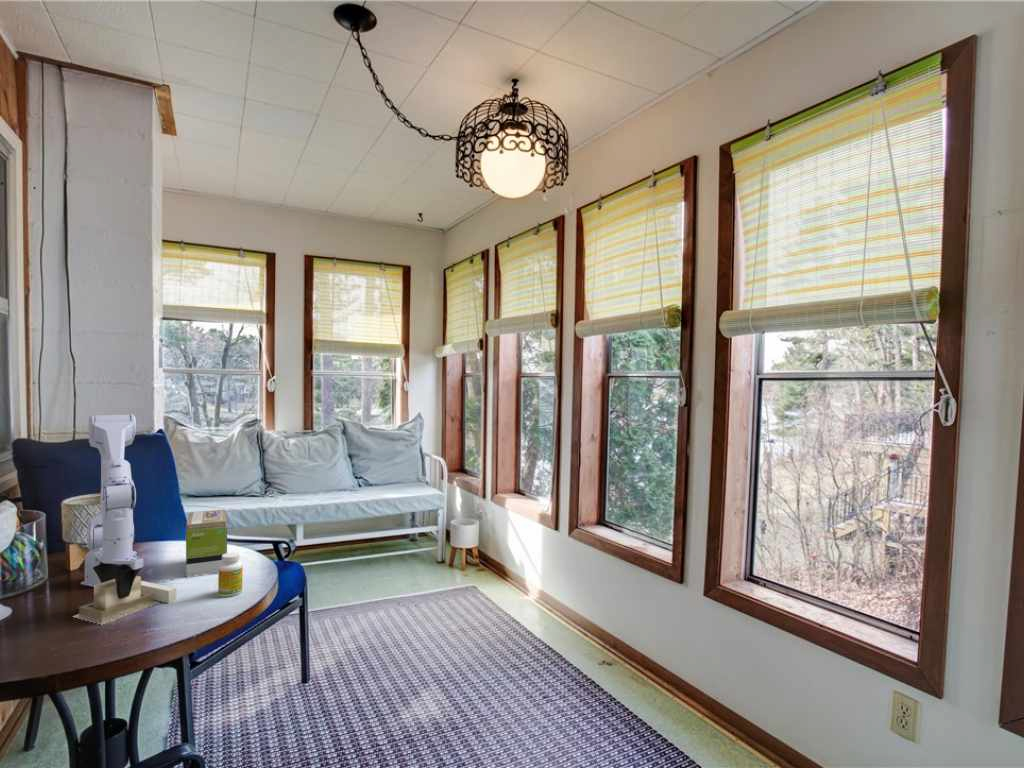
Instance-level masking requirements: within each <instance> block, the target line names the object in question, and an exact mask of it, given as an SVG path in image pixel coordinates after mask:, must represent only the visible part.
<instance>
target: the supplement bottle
mask: <svg viewBox="0 0 1024 768" xmlns="http://www.w3.org/2000/svg"><path fill="white" fill-rule="evenodd" d="M240 557H241V556H240V553H239V552H227V553H226V554H223V555H222V562H223V563H222V564H220V566H219V573H218V578H217V579H218V581H217V582H218V583H217V585H218V588H217V589H218V591H217V592H218V593H217V594H218V596H219V597H224V598H230V597H235V596H238V595H240V594H241V593H242V592H243V569H244V568H243V567H244V566H243V563H242V562H241V561H240Z"/></svg>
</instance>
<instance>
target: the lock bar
mask: <svg viewBox="0 0 1024 768" xmlns="http://www.w3.org/2000/svg"><path fill="white" fill-rule="evenodd" d="M141 581H142V576H139V575H136V577H135V579H134V582H133V585H132V588H131V591H130V595H129V596H128V597H125V598H122V599H119V598H118V595H117V585H116V581H115V579H113V580H109V581H106V582H103V583H100V584H97V585H94V587H93V602H94V608H98V609H102V610H106V609H108V608H111V607H114V606H117V605H120V604H122V603H125V602H128V601H131V600H133V599H136V598H139V597H141Z"/></svg>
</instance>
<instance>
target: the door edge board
mask: <svg viewBox="0 0 1024 768" xmlns="http://www.w3.org/2000/svg"><path fill="white" fill-rule="evenodd" d="M141 592H145V593H149V594H153V601H156V600H157V601H156V602H160V601H162V602H161V603H165V602H167V603H166V604H171V603H173V602H172V601H174V602H176V601H177V587H174V586H168V585H164V584H158V583H153V582H148V581H144V580H141ZM175 600H176V601H175ZM170 602H171V603H170Z"/></svg>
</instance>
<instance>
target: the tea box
mask: <svg viewBox="0 0 1024 768" xmlns="http://www.w3.org/2000/svg"><path fill="white" fill-rule="evenodd" d="M186 521H187V522H186V525H185V573H186V574H185V576H193V577H196V576H195V575H201V576H203V575H202V574H209V575H211V574H210V573H216V574H219V573H218V572H219V566H220V564H222V563H223V562H222V555H223V554H226V553H228V526H227V525H228V524H227V510H226V509H225V508H224V509H215V510H205V511H195V512H189V513H188V518H187V520H186Z"/></svg>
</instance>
